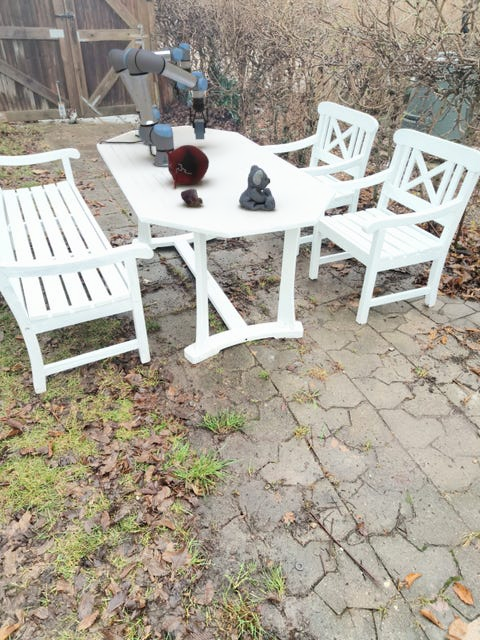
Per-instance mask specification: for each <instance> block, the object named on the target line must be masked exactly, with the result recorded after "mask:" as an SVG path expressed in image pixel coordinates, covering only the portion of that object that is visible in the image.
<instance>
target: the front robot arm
mask: <svg viewBox="0 0 480 640" xmlns="http://www.w3.org/2000/svg"><path fill="white" fill-rule="evenodd" d="M125 51H126V53H125V54H124V58H123V61H124V65H125V67H126V68H127V69H128V70H129V73H130V76H131V77H132V78H133V80H134V85H135V90H136V95H137V100H138V105H139V110H140V115H141V120H139V127H138V130H137V132H138V134H135V136H136V137H138V138H139V139H140V140H143V142H146V143H150V144H154V145H153V146H155V154H154V153H153V151H152V145H150V144H149V145H148V146H149V152H150V154H151V155H152V156H153V157H154V165H155V166H157V167H163V168H164V167H165V168H168V155H167V153H166V151H165V149H167V150H168V152H169V153H171V152H172V151H173V150H175V143H174V141H175V140H174V131H173V127H172V126H171V125H169V124H167V123H161V124H158V120H157V119H155V117H154V111H153V108H154V106H153V102H152V101H153V100H152V96H151V90H150V85H149V79H148V76H149V74H150V73H151V74H155V75H158V76H161V75H162V76H164V77H166V78H169V79H170V80H173V81H175V82H176V81H177V85H176V87H178V90H181V91H183V90H189V91H191V92H192V106H188V110H189V123H190V124H192V129H193V132H194V134H195V119H196V116H197V113H200V114H201V116H202V119H204V134H206V129H207V128H208V127H207V125H208V123H209V122H210V118H209V106H206V105H205V98H204V97H205V96H204V94H205V93H204V92H205V91H207V89H208V86H209V84H208V80H207V79H206V78H204V76H203V72H202V71H191V73H189V72H187V71H185V70H183V69H181V67H180V66H176V65H175V64H172V63H171V62H170V61H168V62H167V61H165V59H164V58H163V57H161V56H159V55H157V54H155V53H153V52H151V51H152V50H149V49H146V48H129V49H127V50H125ZM193 110H194V114H193V118H192V113H193ZM204 110H205V113H204ZM205 114H206V116H205Z"/></svg>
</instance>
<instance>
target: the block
mask: <svg viewBox="0 0 480 640" xmlns="http://www.w3.org/2000/svg"><path fill="white" fill-rule="evenodd" d="M194 123H195V133H194V135H195V140H205V133H204V123H205V122H204V119H203V118H201V119H199V118H198V119H196V118H195V121H194Z"/></svg>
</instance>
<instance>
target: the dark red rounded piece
mask: <svg viewBox="0 0 480 640" xmlns="http://www.w3.org/2000/svg"><path fill="white" fill-rule="evenodd" d="M165 151H166V153H167V155H168V167H167V169H168V172H169V174H170V175H171V178H172V180H173V181H174V185H173V188H174V189H176V188H177V185H194V184H197V183H199V182H200V181H201V180H202V179H203V178H204V177H205V175H206V174H207V172H208V169H209V166H210V161H209V157H208V156H207V155H206V153H205V152H204V151H202V150H201V149H200V148H199V147H198V146H195V145H192V144H185V145H181V146H178V147H176V148H174V150H173V151H172V152H171V153H169V152H168V150H167V149H165Z"/></svg>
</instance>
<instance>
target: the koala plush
mask: <svg viewBox="0 0 480 640" xmlns="http://www.w3.org/2000/svg"><path fill="white" fill-rule="evenodd" d="M270 183H271V178H269V176H268V175H267V173H266V172H265V170H264V169H263V168H261V167H259V165H257V164H253V165H250V170H249V173H248V176H247V188H246V189H245V190H244V191H243V192H242V193H241V194H240V197H239V199H238V203H239V204H240V206H241V207H242V208H246V209H247V210H252V211H255V210H261V211H272V210H274V209H275V208H276V200H275V198H274V196H273V194H272V191H271V188H270V187H268V186H269V185H270Z"/></svg>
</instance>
